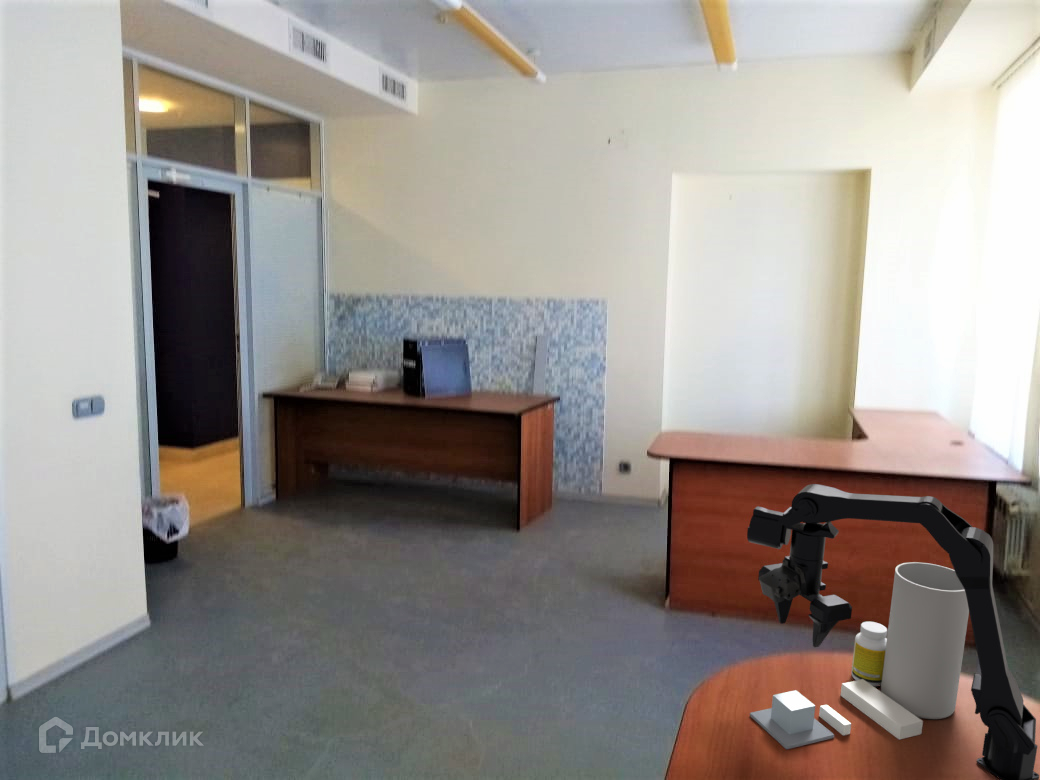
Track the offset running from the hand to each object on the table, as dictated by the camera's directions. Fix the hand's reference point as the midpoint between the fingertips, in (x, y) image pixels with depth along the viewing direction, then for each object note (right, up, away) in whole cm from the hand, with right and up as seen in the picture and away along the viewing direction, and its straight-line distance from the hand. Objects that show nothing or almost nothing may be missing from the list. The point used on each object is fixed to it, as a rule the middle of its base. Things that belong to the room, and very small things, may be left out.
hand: (798, 634), depth 144 cm
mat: (-4, -14, -6) cm, 16 cm away
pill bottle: (+17, -12, +10) cm, 23 cm away
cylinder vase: (+23, -14, +3) cm, 27 cm away
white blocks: (+10, -14, -3) cm, 18 cm away
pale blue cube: (-3, -14, -6) cm, 15 cm away
